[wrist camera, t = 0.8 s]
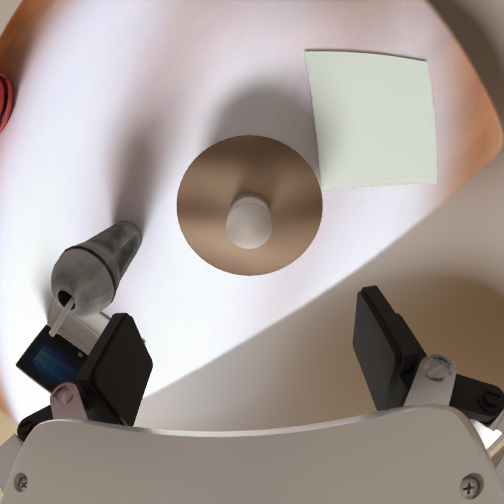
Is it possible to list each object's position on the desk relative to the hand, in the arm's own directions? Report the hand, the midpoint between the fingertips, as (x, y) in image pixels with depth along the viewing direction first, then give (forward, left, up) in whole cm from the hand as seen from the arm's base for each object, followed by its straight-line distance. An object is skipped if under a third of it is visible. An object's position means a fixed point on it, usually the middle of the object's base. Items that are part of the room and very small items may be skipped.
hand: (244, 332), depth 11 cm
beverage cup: (+3, -17, -24) cm, 30 cm away
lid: (0, 0, -18) cm, 18 cm away
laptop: (+19, -31, -25) cm, 44 cm away
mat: (-8, +17, -24) cm, 31 cm away
